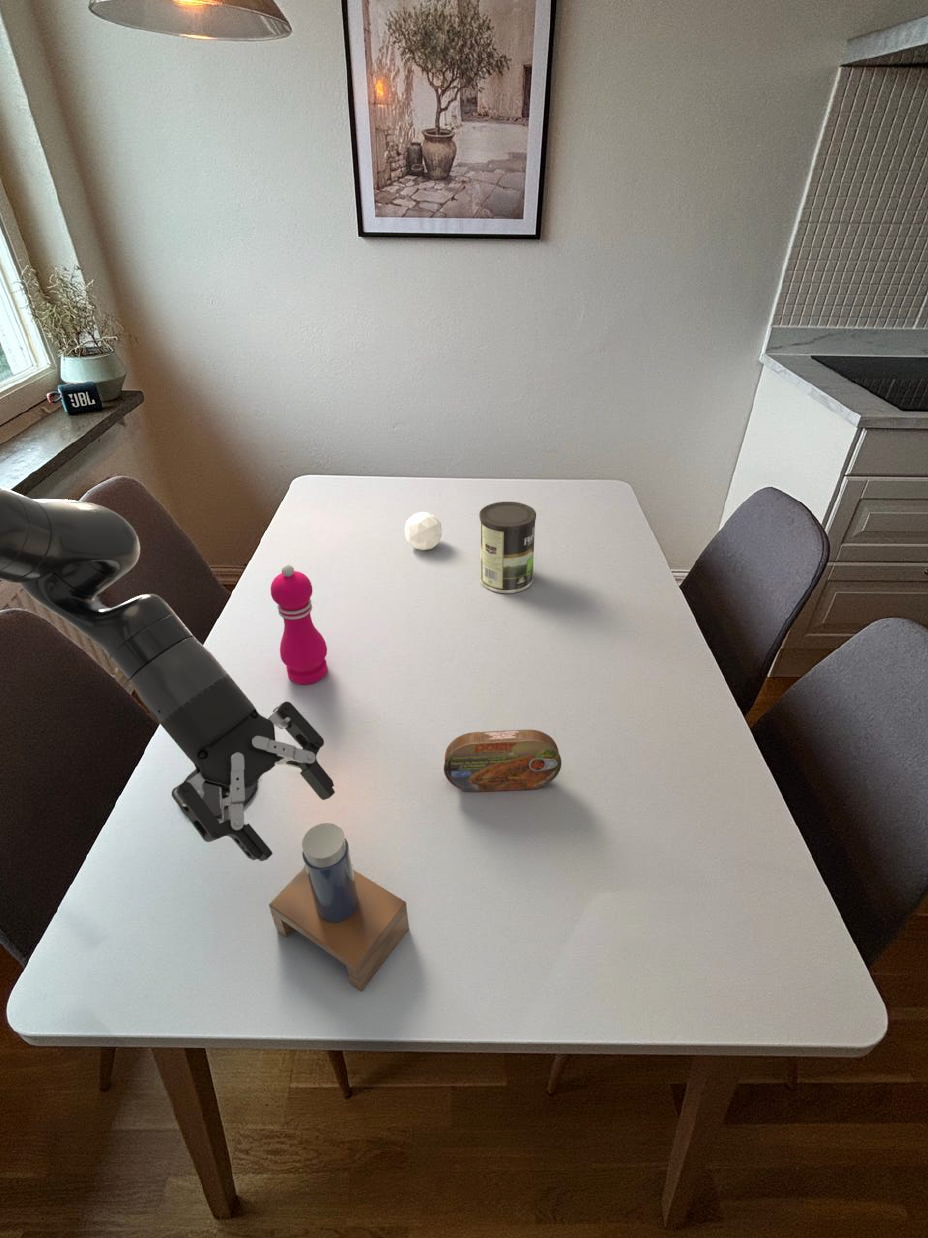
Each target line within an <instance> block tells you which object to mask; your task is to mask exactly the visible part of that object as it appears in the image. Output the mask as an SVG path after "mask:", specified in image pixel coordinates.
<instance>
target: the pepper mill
mask: <svg viewBox="0 0 928 1238" xmlns="http://www.w3.org/2000/svg"><path fill="white" fill-rule="evenodd" d="M312 595H313V585H312V582H311V580H310V578H309V577H308V576H307V575H305V574H304V573H303V572H300V571H297V570H295V569H294V567H293V566H292V565H291V564H284V565H282V568H281V573H279V574H277V575H276V576H275V577H274V578H273V580H272V582H271V583H270V597H271V598H272V600H273V602H275V603H276V604H277V605H276V606H277V607H276V608H277V613H278V615H279V617H281V618H282V619H283V625H284V626H283V634H282V636H281V639H280V643H279V644H280V646H279V656H280V659H281V662H283V664H284V665H285V666H286V673H287V677H288V679H289V680H290V681H291V682H292V683H294V684H298V685H312V684H314V683H318V682H319V681H321V680H322V679H323V678H324V677H326V675H327V673H328V665H327V660H326V657H327V654H328V647H327V643H326V640H325V638H324V637H323V635H322V634H321V632H319V630H318V629H317V627H316V626H315V624H314V622H313V619H312V616H311V612H312V610H313V604H312V600H311V597H312Z"/></svg>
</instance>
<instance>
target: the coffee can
mask: <svg viewBox="0 0 928 1238" xmlns="http://www.w3.org/2000/svg"><path fill="white" fill-rule="evenodd" d="M478 517H479V525H480V526H479V537H480V541H479V542H480V543H479V545H480V546H479V547H480V548H479V549H480V555H479V557H480V559H479V560H480V575H479V576H480V577H479V580H480V581H479V582H480V583H481V585H482V586H483V587H484V588H485V589H487V590H489V591H491V592H495V593H498V594H515V593H520V592H522V591H525V590H527V589H528V588H530V587H531V586H532V584H533V581H534V576H533V575H534V555H535V553H534V552H535V536H536V535H535V534H536V533H535V532H536V519H537V512H536V510H535V509H534V508H533V507H532V506H530V505H528V504H526V503H522V502H518V501H498V502H497V501H496V502H493V503H490V504H487V505H485V506H484V507H482V508H481V509H480V511H479V515H478Z"/></svg>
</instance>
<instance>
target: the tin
mask: <svg viewBox="0 0 928 1238" xmlns="http://www.w3.org/2000/svg"><path fill="white" fill-rule="evenodd" d="M561 769H562V757H561V754H560V751H559V748H558V745H557V743H556V741H555V740H554V739H553V738H552V737H551V736H550V735H549V734H547V733H545V732H543V731H540V730H539V729H538V730H537V729H513V730H512V729H511V730H510V729H509V730H494V731H493V730H491V731H490V730H489V731H473V732H468V733H463V734H462V735H459V736H457V737H456V738H455V739H453V740H452V741H451V742H450V743H449V744H448V746H447V748H446V750H445V753H444V763H443V773H444V776H445V778H446V779H447V781H448V782H449V783H450V784H451V785H452V786H453V787H455V788H457V789H459V790H462V791H464V792H471V793H481V792H499V791H520V790H521V791H523V790H535V789H539V788H542V787H545V786H546V785H548V784H550V783H551V782H552V781H554V780H555V778H556V777H557V776H558V775H559V773H560V772H561Z"/></svg>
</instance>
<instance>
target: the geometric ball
mask: <svg viewBox="0 0 928 1238" xmlns="http://www.w3.org/2000/svg"><path fill="white" fill-rule="evenodd" d="M404 536H405V541H407V542H408V543H409V545H410V546H411V547H413V548H414V549H417V550H420V551H426V550H427V551H428V550H432V549H434V548H435V547H436V546H437V545H438V544H439V543H440V541H441V539H442V536H443V529H442V523H441V521H440V520H439V519H438V518H437V517H436V516H435V515H433V514H431V513H428V512H426V511H421V512H416V513H414V514H412V515H411V516H410V517H409V518H408V519H407V520H406V522H405V526H404Z"/></svg>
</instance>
